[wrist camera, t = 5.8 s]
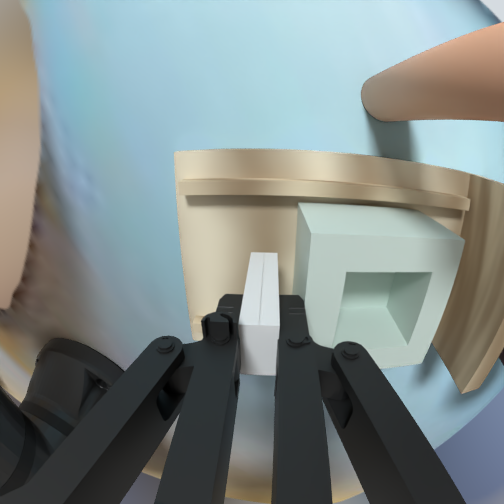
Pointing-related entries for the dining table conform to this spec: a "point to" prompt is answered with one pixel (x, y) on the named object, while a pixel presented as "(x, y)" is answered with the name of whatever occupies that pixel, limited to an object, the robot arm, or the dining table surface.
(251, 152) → the board
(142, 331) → the dining table surface
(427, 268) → the block
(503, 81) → the dowel
